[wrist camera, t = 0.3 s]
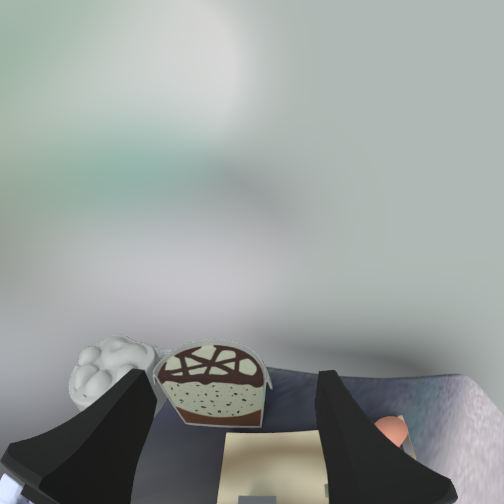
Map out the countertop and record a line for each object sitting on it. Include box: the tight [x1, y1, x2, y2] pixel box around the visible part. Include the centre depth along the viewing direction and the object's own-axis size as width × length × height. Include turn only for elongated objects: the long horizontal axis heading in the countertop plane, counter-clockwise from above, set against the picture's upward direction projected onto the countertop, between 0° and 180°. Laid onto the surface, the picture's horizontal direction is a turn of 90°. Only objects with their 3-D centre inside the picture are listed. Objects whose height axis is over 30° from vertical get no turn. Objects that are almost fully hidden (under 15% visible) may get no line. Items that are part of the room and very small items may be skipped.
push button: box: [375, 416, 408, 447], centre depth 19 cm, size 4×4×3 cm
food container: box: [153, 339, 273, 428], centre depth 29 cm, size 12×6×10 cm, turn 87°
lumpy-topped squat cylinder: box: [69, 335, 168, 417], centre depth 29 cm, size 10×13×9 cm
